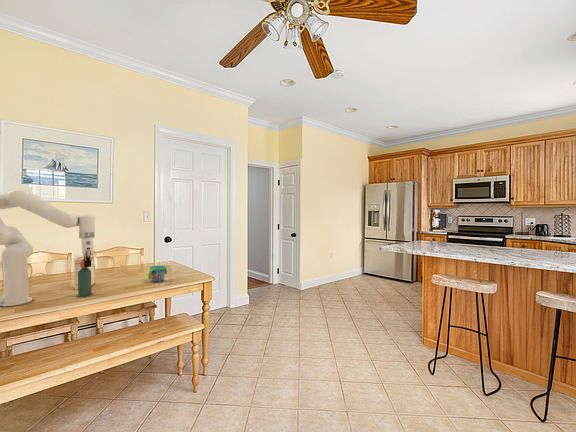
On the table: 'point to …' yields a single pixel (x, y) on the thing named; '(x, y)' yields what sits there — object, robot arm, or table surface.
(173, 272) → the table surface
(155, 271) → the snack cup
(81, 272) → the bottle
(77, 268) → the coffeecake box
